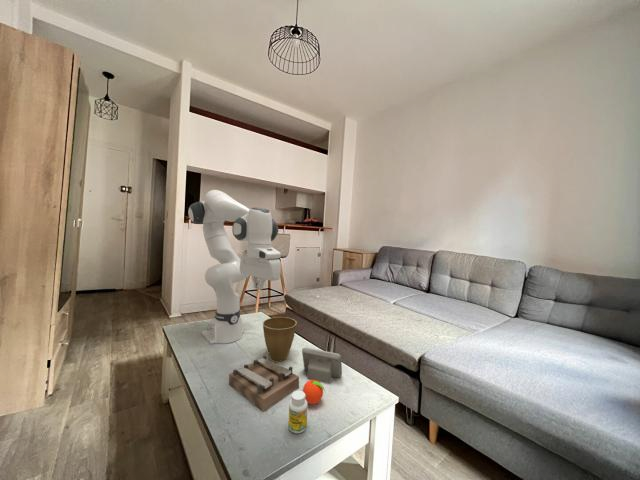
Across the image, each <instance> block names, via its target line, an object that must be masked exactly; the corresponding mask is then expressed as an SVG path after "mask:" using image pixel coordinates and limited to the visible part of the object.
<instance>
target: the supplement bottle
mask: <svg viewBox="0 0 640 480" xmlns="http://www.w3.org/2000/svg"><path fill="white" fill-rule="evenodd" d="M307 427H308V402H307V401H306V400H305V393H304V392H303V390H294V391H293V392H291V399H290V401H289V403H288V429H289V431H290V432H291V433H294V434H300V433H303V432H305V430H306V429H307Z"/></svg>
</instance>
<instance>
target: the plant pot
mask: <svg viewBox="0 0 640 480" xmlns="http://www.w3.org/2000/svg"><path fill="white" fill-rule="evenodd" d="M262 329H263V336H264V337H263V338H264V343H265V347H266V350H267V353H268V356H269V360H270V361H272V362H274V363H280V362H284V361H286V359H287V357H288V356H289V353H290V351H291V348H292V345H293V341H294V337H295V333H296V330H297V320H295V319H294V318H291V317H286V316H285V317H284V316H276V317H269V318H266V319H265V320H264V321H263V322H262Z"/></svg>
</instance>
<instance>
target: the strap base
mask: <svg viewBox="0 0 640 480" xmlns="http://www.w3.org/2000/svg"><path fill="white" fill-rule="evenodd" d="M262 358H265V359H267V360H269V361H271V362H273V363H275V364H277V362H275V361H272V360H271V359H270V358H268V355H265V354H264V355H263V357H261V358H259V359H253V361H252V362H251V363H249V364H247V363H245V364H243V367H245V368H247V369H248V370H250V371H252V372H254V373H256V374H258V375H259V376H261V377H263V378H265V379H267V380H269V381H271V382H272V385H271V386H269V387H267V388H266V389H264V388H262V385H261V384H259V385H257V384H255V383H254V382H252V381H250V380H249V379H247V378H245V377H243V376H242V375H240V374H238V373H237V370H239V369H241V368H243V367H241V368H238V369H236V368H235V369H233V370H232V372H229V373H228V385H229V386H230V387H231V388H233V389H234V390H235V391H236V392H238V393H239V394H241V395H242V396H243V397H244V398H245V399H246V400H248V401H249V402H250V403H252V404H253V405H254V406H255V407H257V408H258V409H259V410H261V412H265V411H266V410H268V409H270V408H271V407H273V406H274V405H275V404H277V403H278V402H279V401H281V400H283V399H284V398H286V396H288V395H289V394H292V393H293V392H295V391H297V389H298V388H299V387H300V385H299V384H300V376H299V375H296V373H293V369H294V367H293V366H291V365H290V366H288V369H289V370H291V373H290V374H289V375H287V376H283V375H282V374H283V373H282V372H280V373H277V372H275V371H273V370H271V369H269V368H267V367H265V366H263V365H261V364H258V360H260V359H262Z"/></svg>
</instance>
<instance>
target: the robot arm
mask: <svg viewBox="0 0 640 480" xmlns="http://www.w3.org/2000/svg"><path fill="white" fill-rule="evenodd" d="M187 212H188V217H189V219H190V221H191V222H192V223H193V224H195V225H202V231H203V236H204V241H205V244H206V247H207V250H208V252H209V255H210V257H211V258H213V259H215V260H216V261H218V262H219V263H220V264H219V263H218V264H214V265H212V266H210V267H208V268H207V269H206V271H205V274H204V280H205V282H206V284H207V285H208V286H209V287H211V288H212V289H213V291H214V292H215V297H216V310H215V311H214V312H213V313H214V317H213V318H212V319H211V320H210V321H208V322H207V326H206V329H204V330H203V331H202V333H201V334H202V335H203V337H204V338H205V340H207V342H208V343H209V344H211V345H212V344H229V343H234V342H237V341H239V340H240V339H242V338H243V337H242V336H243V334H244V331H245V330H244V329H243V322H242V317H241V308H240V306H241V305H240V301H241V300H240V298H241V296H240V294H239V293H238V292H237V291H235V290H234V284H236V283H240V282H243V281H245V280H246V279H247V278H249V276H251V280H252V282H253V283H252V284H253V288H254V289H257V290H263V289H264V285H265V283H266V280H268V281H271V282H273V281H278V280H279V279H280V278H281V274H282V273H281V272H282V264H281V260H280V258H282V252H280V251H279V250H277V249H275V248H274V247H273V246H272V245H273V242H274V240H275V239H276V238H277V237H278V234H279V226H278V224H277V222H276V220H275V219H274V218H273V217H272V213H271V211H270V210H269V209H266V208H261V207H251V208H249V207H248V206H246V205H244V204H242V203H240V202H238V201H237V200H235V198H233V197H231V196H230V195H229V194H227V193H225V192H224V191H221V190H219V189H211V190H209V191H208V192H207V193H206V194H205V196H204V200H203V201H196V202H193V203H192V204H190V206H189V207H188V211H187ZM229 222H233V223H232V229H231V230H232V234H233V236H234V238H235V239H237V240H238V241H241V242H247V243H246V249H244V250H243V252H242V255H241V257H239V256H238V254H237V253H236V252H235V250H234V249H233V247H232V244H231V241H230V239H229V235H228V234H227V231H226V229H225V227H224V223H226V224H229Z"/></svg>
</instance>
